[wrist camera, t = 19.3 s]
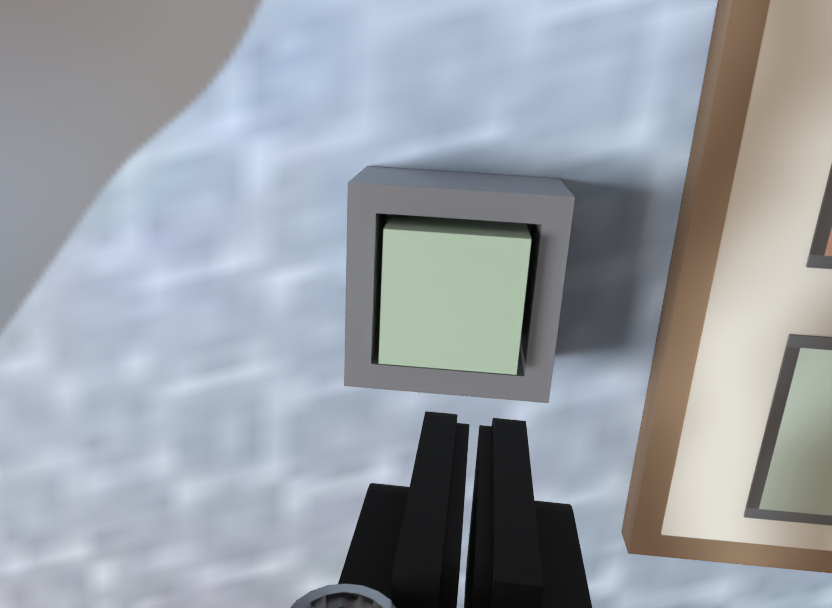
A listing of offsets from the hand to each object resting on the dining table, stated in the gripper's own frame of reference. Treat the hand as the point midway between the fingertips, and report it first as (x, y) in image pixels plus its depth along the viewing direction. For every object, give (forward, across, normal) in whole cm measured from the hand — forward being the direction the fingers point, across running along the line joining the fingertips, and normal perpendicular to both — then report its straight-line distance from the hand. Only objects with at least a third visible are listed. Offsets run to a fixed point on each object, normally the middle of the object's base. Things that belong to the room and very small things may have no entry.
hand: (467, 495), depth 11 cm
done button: (+11, +1, -1) cm, 11 cm away
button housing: (+12, +1, -1) cm, 12 cm away
